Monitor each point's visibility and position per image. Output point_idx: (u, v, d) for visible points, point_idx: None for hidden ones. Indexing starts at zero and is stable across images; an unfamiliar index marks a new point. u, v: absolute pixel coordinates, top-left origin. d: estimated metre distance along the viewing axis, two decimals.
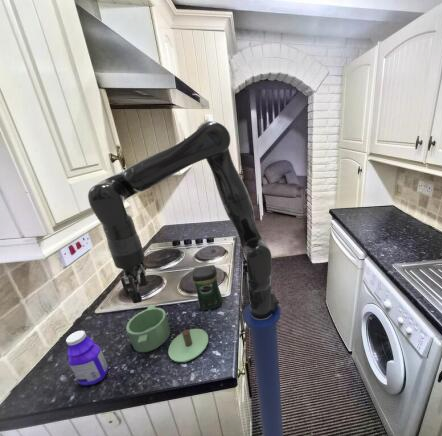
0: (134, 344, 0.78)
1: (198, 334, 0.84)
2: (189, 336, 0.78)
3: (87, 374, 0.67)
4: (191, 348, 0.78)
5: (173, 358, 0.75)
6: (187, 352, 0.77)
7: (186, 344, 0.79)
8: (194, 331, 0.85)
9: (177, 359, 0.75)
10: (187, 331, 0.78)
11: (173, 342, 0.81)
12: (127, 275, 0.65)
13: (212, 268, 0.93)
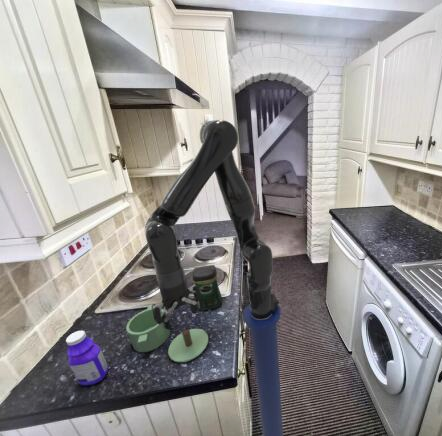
0: (134, 344, 0.78)
1: (198, 334, 0.84)
2: (189, 336, 0.78)
3: (87, 374, 0.67)
4: (191, 348, 0.78)
5: (173, 358, 0.75)
6: (187, 352, 0.77)
7: (186, 344, 0.79)
8: (194, 331, 0.85)
9: (177, 359, 0.75)
10: (187, 331, 0.78)
11: (173, 342, 0.81)
12: (159, 304, 0.69)
13: (212, 268, 0.93)
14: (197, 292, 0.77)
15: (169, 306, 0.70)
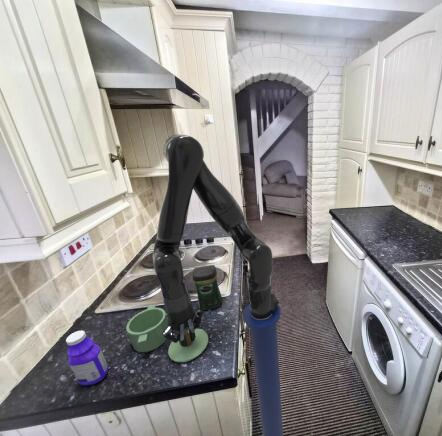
0: (134, 344, 0.78)
1: (198, 334, 0.84)
2: (189, 336, 0.78)
3: (87, 374, 0.67)
4: (191, 348, 0.78)
5: (173, 358, 0.75)
6: (187, 352, 0.77)
7: (186, 344, 0.79)
8: None
9: (177, 359, 0.75)
10: (187, 331, 0.78)
11: (173, 342, 0.81)
12: (167, 330, 0.73)
13: (212, 268, 0.93)
14: (199, 318, 0.80)
15: (178, 329, 0.74)
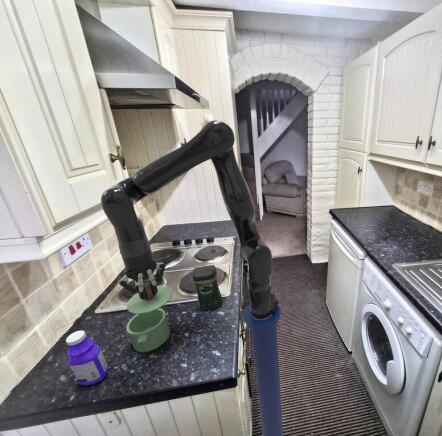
0: (134, 344, 0.78)
1: (162, 290, 0.79)
2: (150, 289, 0.74)
3: (87, 374, 0.67)
4: (152, 302, 0.74)
5: (131, 310, 0.70)
6: (147, 305, 0.73)
7: (147, 297, 0.74)
8: (158, 287, 0.80)
9: (135, 311, 0.70)
10: (148, 283, 0.74)
11: (134, 297, 0.76)
12: (123, 278, 0.68)
13: (212, 268, 0.93)
14: (162, 271, 0.75)
15: (135, 279, 0.70)
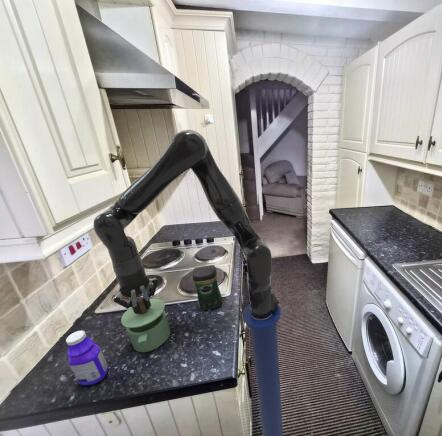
0: (134, 344, 0.78)
1: (155, 304, 0.83)
2: (143, 303, 0.78)
3: (87, 374, 0.67)
4: (145, 316, 0.78)
5: (125, 324, 0.75)
6: (140, 319, 0.77)
7: (140, 312, 0.78)
8: (151, 301, 0.85)
9: (128, 325, 0.74)
10: (141, 298, 0.78)
11: (128, 310, 0.80)
12: (117, 294, 0.72)
13: (212, 268, 0.93)
14: (154, 286, 0.80)
15: (129, 295, 0.74)
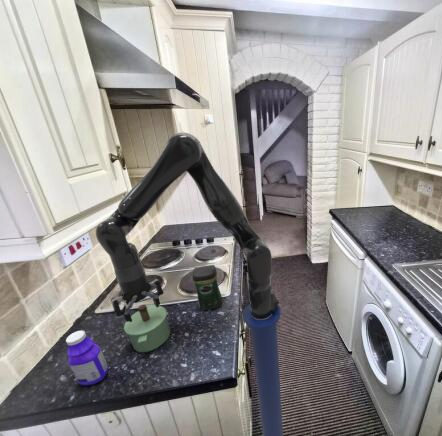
0: (134, 344, 0.78)
1: (157, 310, 0.84)
2: (145, 311, 0.79)
3: (87, 374, 0.67)
4: (147, 323, 0.79)
5: (128, 332, 0.76)
6: (143, 326, 0.78)
7: (143, 319, 0.79)
8: (154, 308, 0.86)
9: (131, 333, 0.75)
10: (143, 306, 0.79)
11: None
12: (118, 297, 0.73)
13: (212, 268, 0.93)
14: (159, 286, 0.81)
15: (129, 299, 0.74)
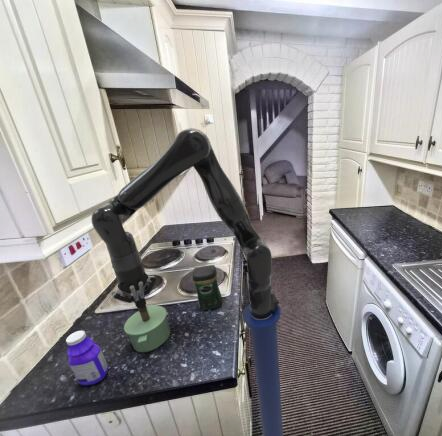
0: (134, 344, 0.78)
1: (157, 310, 0.84)
2: (145, 311, 0.79)
3: (87, 374, 0.67)
4: (147, 323, 0.79)
5: (128, 332, 0.76)
6: (143, 326, 0.78)
7: (143, 319, 0.79)
8: (154, 308, 0.86)
9: (131, 333, 0.75)
10: None
11: (131, 318, 0.82)
12: (116, 291, 0.72)
13: (212, 268, 0.93)
14: (151, 284, 0.79)
15: (129, 291, 0.74)
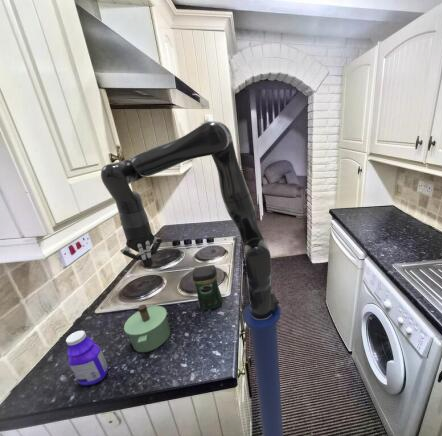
0: (134, 344, 0.78)
1: (157, 310, 0.84)
2: (145, 311, 0.79)
3: (87, 374, 0.67)
4: (147, 323, 0.79)
5: (128, 332, 0.76)
6: (143, 326, 0.78)
7: (143, 319, 0.79)
8: (154, 308, 0.86)
9: (131, 333, 0.75)
10: (143, 306, 0.79)
11: (131, 318, 0.82)
12: (124, 248, 0.76)
13: (212, 268, 0.93)
14: (157, 245, 0.83)
15: (136, 249, 0.78)
